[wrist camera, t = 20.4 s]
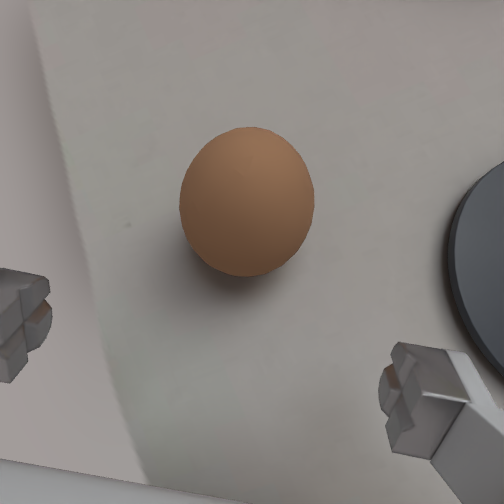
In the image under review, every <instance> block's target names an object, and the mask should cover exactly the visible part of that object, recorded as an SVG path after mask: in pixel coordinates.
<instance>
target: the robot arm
mask: <svg viewBox="0 0 504 504" xmlns="http://www.w3.org/2000/svg"><path fill="white" fill-rule="evenodd" d="M49 293H50V286H49V280H48V279H47V278H46V277H44V276H40V275H35V274H30V273H26V272H21V271H15V270H10V269H6V268H0V382H4V383H11V382H12V381H13V380H14V379H15V377H16V376H17V375H18V374H19V372H20V371H21V370H22V369H23V367H24V366H25V365H26V364H27V362H28V355H27V353H28V352H30V351H32V350H35V349H37V348H39V347H40V346H41V344H42V343H43V342H44V340H45V339H46V337H47V335H48V333H49V330H50V328H51V323H52V308H51V306H50V305H49V304H48V303H47V301H46V300H45V298H46V297H47V296H48V294H49ZM390 355H391V358H392V361H393V363H392V364H391V365H389V366H388V367H386V368H384V370H383V373H382V375H381V378H380V382H379V390H378V394H379V403H380V407H381V410H382V411H383V412H384V413H385V414H386V415H387V416H388V417H389V419H388V421H387V423H386V425H385V427H386V431H387V435H388V439H389V443H390V447H391V451H392V452H393V453H398V454H402V455H407V456H412V457H417V458H422V459H426V460H431V461H430V463H431V464H432V465H433V467H434V468H435V469H436V471H437V472H438V473H439V474H440V476H441V477H442V478H443V480H444V481H445V482H446V483H447V485H448V486H449V487H450V488H451V490H452V491H453V492H454V494H455V495H456V496H457V497H458V499H459V500H460V501H461V503H462V504H504V409H500V408H498V407H497V405H496V403H495V401H494V400H493V398H492V396H491V394H490V393H489V391H488V389H487V387H486V386H485V384H484V382H483V380H482V379H481V377H480V375H479V373H478V371H477V370H476V368H475V366H474V364H473V363H472V361H471V359H470V357H469V356H468V355H467V354H466V353H464V352H461V351H454V350H448V349H437V348H431V347H426V346H420V345H415V344H409V343H403V342H398V343H397V344H396V345H395V346H394V348H393V350H392V352H391V354H390ZM0 504H251V503H246V502H240V501H235V500H229V499H223V498H218V497H212V496H207V495H201V494H195V493H190V492H184V491H179V490H173V489H168V488H162V487H156V486H151V485H145V484H139V483H134V482H128V481H123V480H117V479H112V478H105V477H100V476H95V475H89V474H83V473H78V472H72V471H67V470H61V469H55V468H50V467H44V466H39V465H33V464H27V463H22V462H16V461H10V460H5V459H0Z"/></svg>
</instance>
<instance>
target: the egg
mask: <svg viewBox="0 0 504 504" xmlns="http://www.w3.org/2000/svg"><path fill="white" fill-rule="evenodd" d="M179 210H180V216H181V221H182V227H183V230H184V232H185V235H186V238H187V240H188V242H189V243H190V245H191V246H192V248H193V250H194V251H195V252H196V253H197V254H198V255H199V256H200V257H201V258H202V259H203V261H204V262H206V263H207V264H208V265H210V266H211V267H213V268H215V269H217V270H219V271H222V272H224V273H226V274H229V275H233V276H241V277H251V276H257V275H262V274H266V273H268V272H270V271H272V270H274V269H276V268H278V267H280V266H282V265H283V264H284V263H285V262H286V261H288V260H289V259H290V258H291V257H292V256H293V255H294V254H295V253H296V252H297V251H298V249H299V248H300V246H301V244H302V243H303V241H304V240H305V238H306V236H307V233H308V231H309V228H310V226H311V223H312V217H313V211H314V188H313V185H312V182H311V178H310V175H309V172H308V170H307V167H306V165H305V163H304V161H303V159H302V158H301V156H300V155H299V153H298V152H297V151H296V150H295V149H294V147H293V146H292V145H291V144H289V143H288V142H287V141H286V140H285V139H284V138H282V137H281V136H279V135H277V134H275V133H273V132H272V131H270V130H266V129H261V128H257V127H246V128H235V129H233V130H231V131H228V132H226V133H223V134H221V135H219V136H217V137H215V138H214V139H213V140H211V141H210V142H209V143H207V144H206V145H205V146H204V147H203V148H202V149H201V151H200V152H199V153H198V154H197V155H196V157H195V158H194V159H193V161H192V163H191V164H190V166H189V168H188V169H187V172H186V174H185V177H184V179H183V182H182V186H181V193H180V205H179Z"/></svg>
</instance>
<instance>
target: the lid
mask: <svg viewBox="0 0 504 504" xmlns="http://www.w3.org/2000/svg"><path fill="white" fill-rule="evenodd" d="M448 268H449V276H450V282H451V287H452V292H453V295H454V298H455V301H456V305H457V308H458V310H459V312H460V315H461V317H462V319H463V321H464V324H465V326H466V328H467V329H468V331H469V333H470V335H471V336H472V338H473V340H474V341H475V343H476V345H477V346H478V347H479V349H480V350H481V351H482V353H483V354H484V355H485V357H486V358H487V359H488V361H489V362H490V363H491V364H492V365H493V366H494V367H495V368H496V369H497V370H498V371H499V372H500V374H501V375H502V376H503V377H504V162H502V163H501V164H499V165H498V166H496V167H494V168H493V169H491V170H490V171H489V172H487V173H486V174H485V175H484V176H483V177H482V178H481V179H479V180H478V181H477V182H476V183H475V184H474V185H473V187H472V188H471V189H470V190H469V191H468V193H467V194H466V196H465V197H464V199H463V201H462V202H461V204H460V206H459V208H458V210H457V213H456V215H455V218H454V220H453V224H452V228H451V232H450V236H449V246H448Z"/></svg>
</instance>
